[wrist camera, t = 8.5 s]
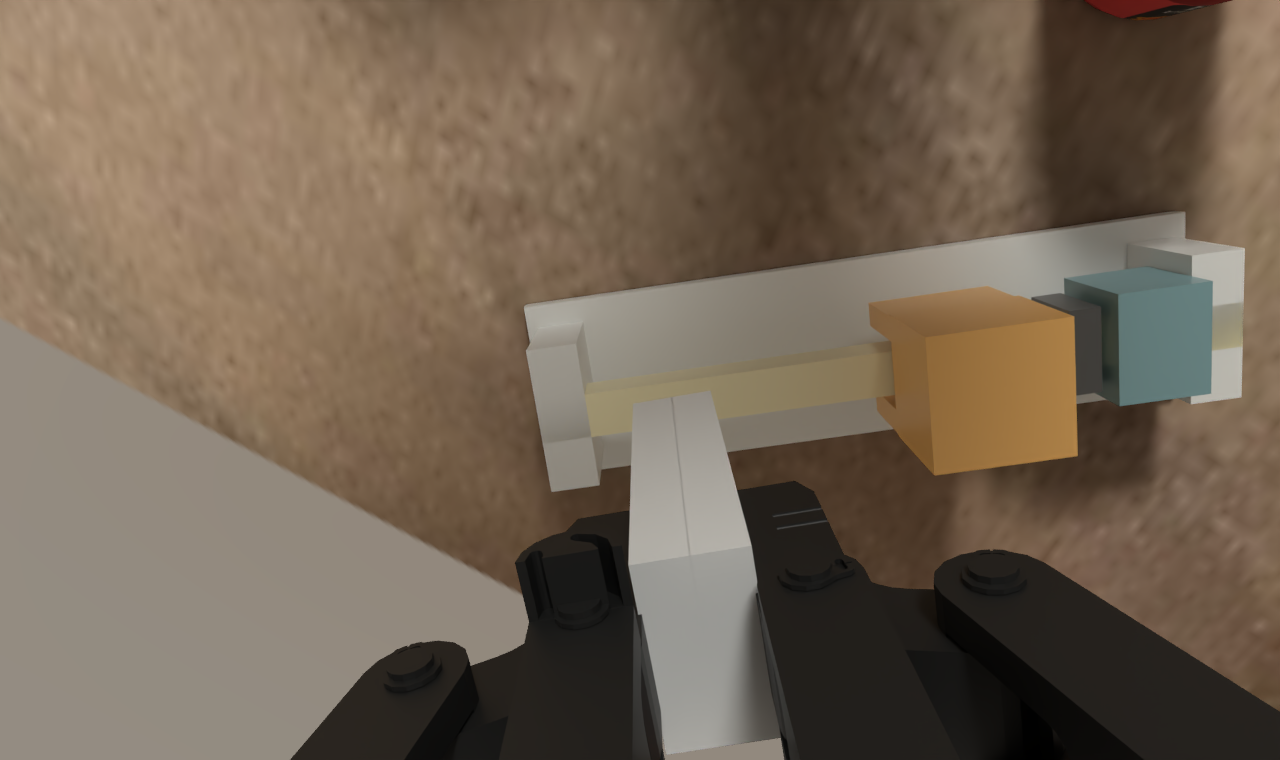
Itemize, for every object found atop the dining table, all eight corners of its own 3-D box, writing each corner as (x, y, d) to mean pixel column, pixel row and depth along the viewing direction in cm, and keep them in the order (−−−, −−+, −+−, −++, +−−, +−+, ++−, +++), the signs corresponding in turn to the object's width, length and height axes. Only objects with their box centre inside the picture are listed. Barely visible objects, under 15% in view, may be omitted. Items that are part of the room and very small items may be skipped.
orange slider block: (868, 300, 38) (925, 337, 30) (987, 283, 37) (1074, 316, 30) (877, 413, 39) (934, 475, 31) (992, 397, 39) (1077, 456, 31)
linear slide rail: (525, 304, 40) (504, 334, 34) (1174, 210, 39) (1282, 222, 33) (555, 470, 42) (540, 529, 36) (1173, 384, 41) (1275, 428, 35)
